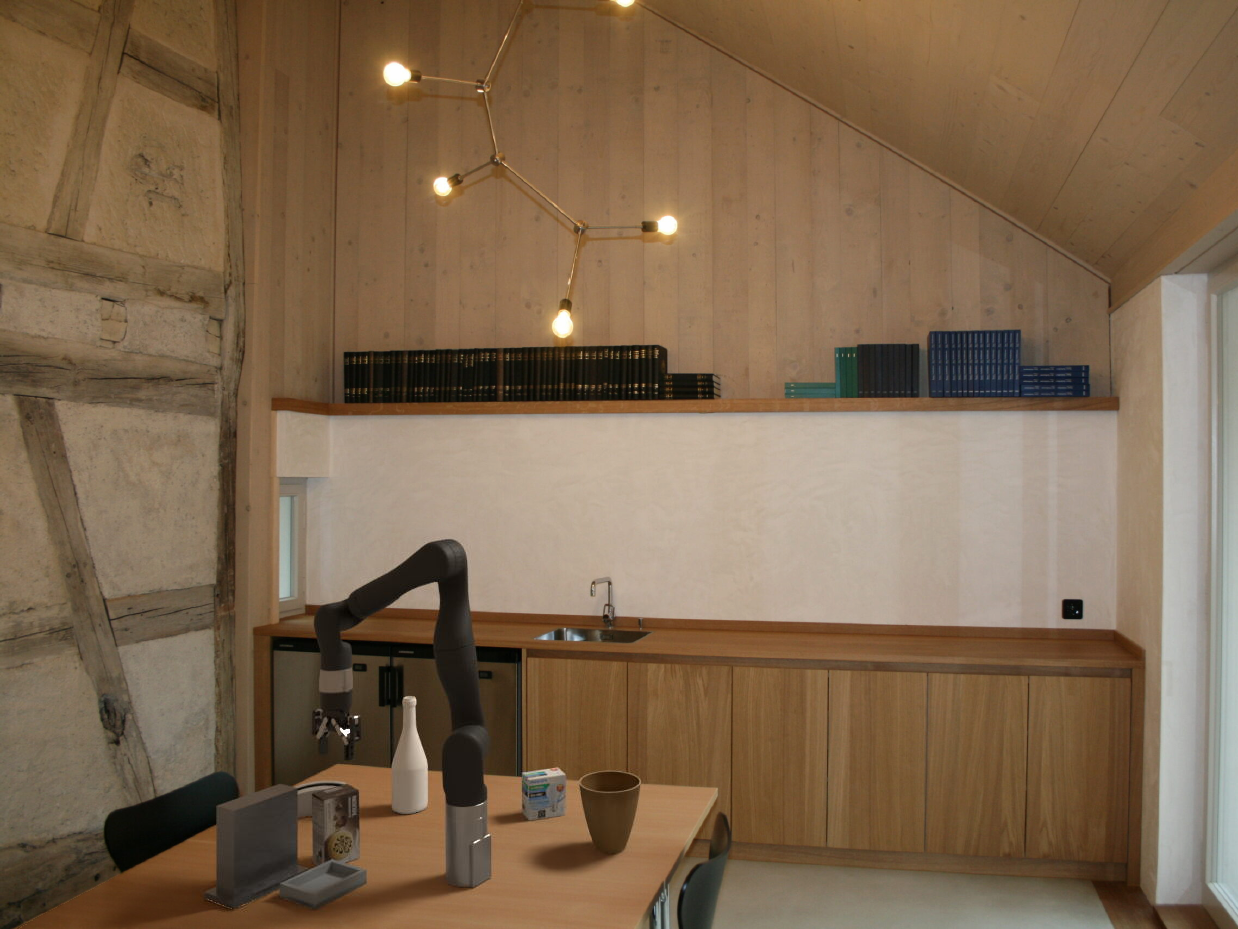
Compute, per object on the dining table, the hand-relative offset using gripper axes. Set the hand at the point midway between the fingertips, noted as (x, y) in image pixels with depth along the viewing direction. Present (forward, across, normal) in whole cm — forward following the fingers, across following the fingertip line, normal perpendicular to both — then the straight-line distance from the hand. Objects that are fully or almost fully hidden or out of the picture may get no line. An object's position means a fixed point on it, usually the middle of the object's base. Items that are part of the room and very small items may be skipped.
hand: (336, 757), depth 205 cm
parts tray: (+24, +10, -12) cm, 29 cm away
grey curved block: (+24, -28, +18) cm, 41 cm away
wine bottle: (+24, -9, +33) cm, 42 cm away
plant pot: (+24, +52, +38) cm, 69 cm away
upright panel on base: (+24, -4, -18) cm, 30 cm away
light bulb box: (+24, +25, +48) cm, 59 cm away
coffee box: (+24, 0, 0) cm, 24 cm away
